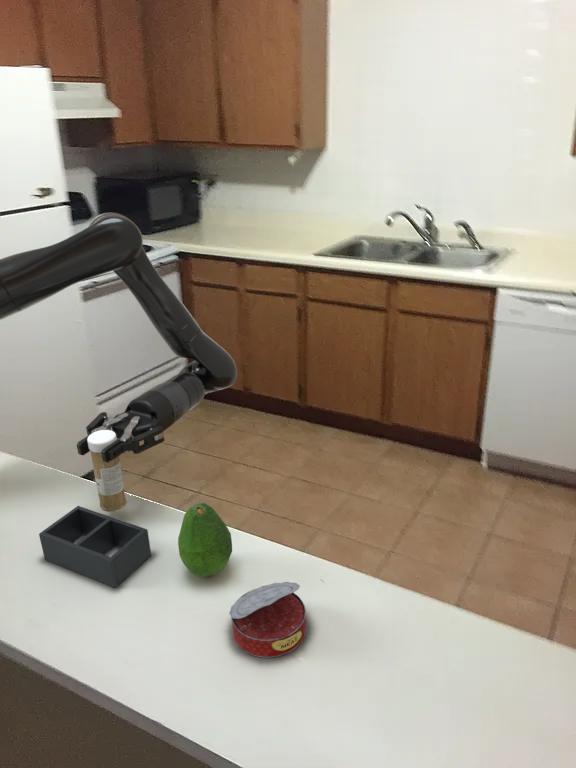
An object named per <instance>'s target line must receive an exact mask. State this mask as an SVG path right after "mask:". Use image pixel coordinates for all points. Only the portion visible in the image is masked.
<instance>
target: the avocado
mask: <svg viewBox="0 0 576 768" xmlns="http://www.w3.org/2000/svg"><path fill="white" fill-rule="evenodd" d="M179 530H180V531H179V534H178V538H177V545H178V554H179V557H180V559H181V561H182V563H183V565H184V566H185V568H186V569H187V570H188V571H189V572H190V573H191V574H193V575H195V576H197V577H201V578H202V577H206V578H207V577H211V576H213V575H216V574H218V573H219V572H221V571H222V570H224V569H225V568H226V566H227V565H228V563H229V561H230V559H231V556H232V553H233V541H232V533H231V531H230V530H229V527H228V526H227V524H226V523H225V522H224V520H223V519H222V518H221V517H220V515H219V514H218V512H217V511H216V510H215V509H214V508H213V507H212V506H211V505H209V504H207V503H206V502H198V503H195V504H193V505H191V506H190V507H189V508H188V509H187V511H186V512H185V513H184V515H183V518H182V522H181V527H180V529H179Z"/></svg>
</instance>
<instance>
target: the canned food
mask: <svg viewBox="0 0 576 768" xmlns="http://www.w3.org/2000/svg"><path fill="white" fill-rule="evenodd" d="M300 587H301V585H300V584H299V583H297V582H290V581H284V582H274V583H271V584H267V585H262V586H260V587H257V588H254V589H251V590H249V591H246V593H244V594H242V595H241V596H240V597H239V598H237V600H236V601H235V602H234V603H233V604H232V605H231V607H230V610H229V613H228V614H229V616H230V617H231V622H232V637H233V639H234V642H235V644H236V645H237V647H239V648H240V649H241V650H242V651H243V652H245V653H247V654H248V655H251V656H254V657H258V658H265V659H267V658H269V659H270V658H278V657H281V656H285V655H287V654H288V653H291V652H293V651H294V650H295V649H297V648H298V646H300V645H301V644H302V642H303V641H304V639H305V637H306V633H307V623H306V622H307V621H306V620H307V619H306V617H307V616H306V611H307V609H306V606H305V603H304V601H303V599H301V597H300V596H299V595H298V594H296V591H298V590H299V589H300Z"/></svg>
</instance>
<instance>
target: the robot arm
mask: <svg viewBox="0 0 576 768" xmlns="http://www.w3.org/2000/svg"><path fill="white" fill-rule="evenodd" d="M143 245H144V239H143V235H142V232H141V230H140V228H139V227H138V225H136V223H135V222H134V221H133V220H131V219H130V218H129V217H128V216H126V215H123V214H121V213H118V212H113V211H112V212H111V211H110V212H103V213H101V214H99V215H97V216H95V217H94V218H93V219H92V220H91V221H90V223H89V224H88V227H86V228H84V229H82V230H80V231H78V232H77V233H75V234H73V235H71V236H69V237H67V238H65V239H63V240H61V241H59V242H56V243H53V244H51V245H48V246H44V247H39V248H35V249H30V250H27V251H23V252H19V253H15V254H14V253H13V254H12V255H8V256H5V257H2V258H0V321H2V320H4V319H6V318H9V317H11V316H13V315H16V314H18V313H20V312H22V311H24V310H27V309H29V308H31V307H33V306H35V305H37V304H38V303H41V302H43V301H45V300H47V299H49V298H51V297H53V296H55V295H56V294H58V293H60V292H62V291H64V290H65V289H67V288H69V287H71V286H73V285H76V284H78V283H81V282H83V281H86V280H89V279H92V278H94V277H99V276H100V275H104V274H107V273H111V272H113V273H114V274H115V275H116V276H117V277H118V278H119V279H120V280H121V281H122V282H123V284H124V285H125V287H127V288H128V290H129V291H130V293H131V294H132V295H133V297H134V298H135V300H136V301H137V303H138V304H139V305H140V307H141V308H142V310H143V312H144V313H145V315H146V316H147V318H148V320H149V321H150V323H151V324H152V325H153V327H154V329H155V330H156V332H157V333H158V335H160V337H161V339H162V340H163V341H164V342H165V344H166V345H167V346H168V348H169V349H170V350H171V352H172V353H173V354H174V355H175V356H176V357H177V358H179V359H191V360H193V361H190V362H189V363H187V364H186V365H185V366H184V367H183V368H182V369H180V371H179V372H178V373H177V374H176V375H174V376H172V377H170V378H168V379H167V380H165V381H163V382H161V383H159V384H157V385H155V386H153V387H151V388H150V389H148V390H147V391H145V392H143V393H142V394H140V395H138V396H137V397H135V398H133V399H132V400H131V401H130V402H129V403H128V404H127V406H126V408H125V410H124V412H121V413H118V414H116V415H114V416H108V413H107V412H106V411H103V412H100V413H99V414H98V415H97V416H96V417H94V418H93V420H92V421H91V422H90V423H89V424H87V426H85V430H86V434H87V436H86V437H84V438H82V439H80V440H79V441H78V442H76V449H77V454H78V455H80V456H85V455H86V454H88V453H89V452H90V450H89V447H88V441H87V438H88V436H89V435H90V434H92V433H94V432H96V431H100V430H111V431H113V432H115V434H116V437H117V440H116V441H115V442H113V443H112V444H110V445H109V446H107V447H106V448H104V449H103V450H102V451H101V455H102V460H103V462H107V463H108V462H110V461H111V460H113V459H115V458H116V457H118V456H121V455H122V454H128V453H130V452H132V453H133V454H135V455H137V454H141V453H143V452H145V451H147V450H149V449H151V448H154V447H156V446H157V445H160V444H161V443H163V442H165V433H164V432H165V431H166V430H167V429H169V428H170V427H172V426H173V425H175V424H176V423H177V422H178V421H180V420H181V419H182V418H183V417H184V416H185V415H186V414H187V413H189V412H190V411H192V410H193V409H194V408H196V407H197V406H198V405H199V404H200V403H201V402H203V400H204V398H205V396H206V395H207V394H209V393H213V392H218V391H220V390H221V391H222V390H225V389H228V388H230V387H232V386H233V385H234V384H235V383H236V382H237V379H238V368H237V365H236V362H235V360H234V359H233V357H232V355H230V353H229V352H227V350H225V348H224V347H222V346H221V345H219V344H218V343H217V342H216V341H215V340H214V339H213V338H211V337H210V336H209V335H207V334H206V333H205V332H204V331H203V330H202V328H201V327H200V325H199V324H198V322H197V321H196V319H195V318H194V316H193V315H192V314H191V312H190V311H189V310H188V308H187V307H186V306H185V304H184V303H183V302H182V300H180V298H179V297H178V296H177V295H176V294H175V292H174V291H173V290H172V289H171V288H170V287H169V285H168V284H167V283H166V281H165V280H164V278H162V276H161V275H160V273H159V272H158V270H157V269H156V268H155V266H154V265H153V263H152V262H151V260H150V258H149V257H148V255H147V253H146V250H145V249H144V247H143ZM142 441H143V444H141V445H140V442H142Z"/></svg>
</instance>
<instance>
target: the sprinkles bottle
mask: <svg viewBox="0 0 576 768" xmlns="http://www.w3.org/2000/svg"><path fill="white" fill-rule="evenodd" d="M87 436H88V435H87ZM116 440H117V437H116V434H115V432H113V431H112V429H111V430H100V431H96V432H94V433H92V434H90V435H89V436H88V438H87V441H88V447H89V450H90V451H89V452H90V456H91V461H92V466H93V473H94V479H95V484H96V485H95V486H96V491H97V493H98V499H99V507H100V509H101V510H102V511H104V512H109V513H111V512H116V511H120V510H122V509H123V508H125V507H126V505H127V504H128V500H127V496H126V493H125V482H124V477H123V471H122V465H121V459H120V457H119V456H120V455H119V456H118V457H116V458H115V459H113V460H111V461H110V462H108V463H107V462H103V460H102V455H101V451H102V450H103V449H104V448H106V447H107V446H109V445H110V444H112V443H113V442H115V441H116Z"/></svg>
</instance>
